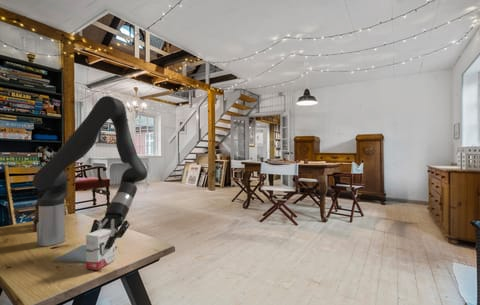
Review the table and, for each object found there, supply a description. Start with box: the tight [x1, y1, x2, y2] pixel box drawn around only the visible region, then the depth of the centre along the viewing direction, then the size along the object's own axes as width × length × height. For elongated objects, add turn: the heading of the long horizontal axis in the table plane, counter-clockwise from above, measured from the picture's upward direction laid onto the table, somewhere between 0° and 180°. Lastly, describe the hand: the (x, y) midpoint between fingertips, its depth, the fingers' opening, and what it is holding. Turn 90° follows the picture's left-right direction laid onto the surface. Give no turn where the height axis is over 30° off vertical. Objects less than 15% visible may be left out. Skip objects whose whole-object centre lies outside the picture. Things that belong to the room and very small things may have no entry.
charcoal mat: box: [52, 244, 118, 264], centre depth 94 cm, size 16×14×1 cm
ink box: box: [85, 228, 116, 271], centre depth 85 cm, size 9×5×12 cm, turn 169°
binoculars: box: [32, 190, 46, 233], centre depth 130 cm, size 18×8×20 cm, turn 38°
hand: (99, 247), depth 85 cm, fingers closed on ink box, 5 cm apart
